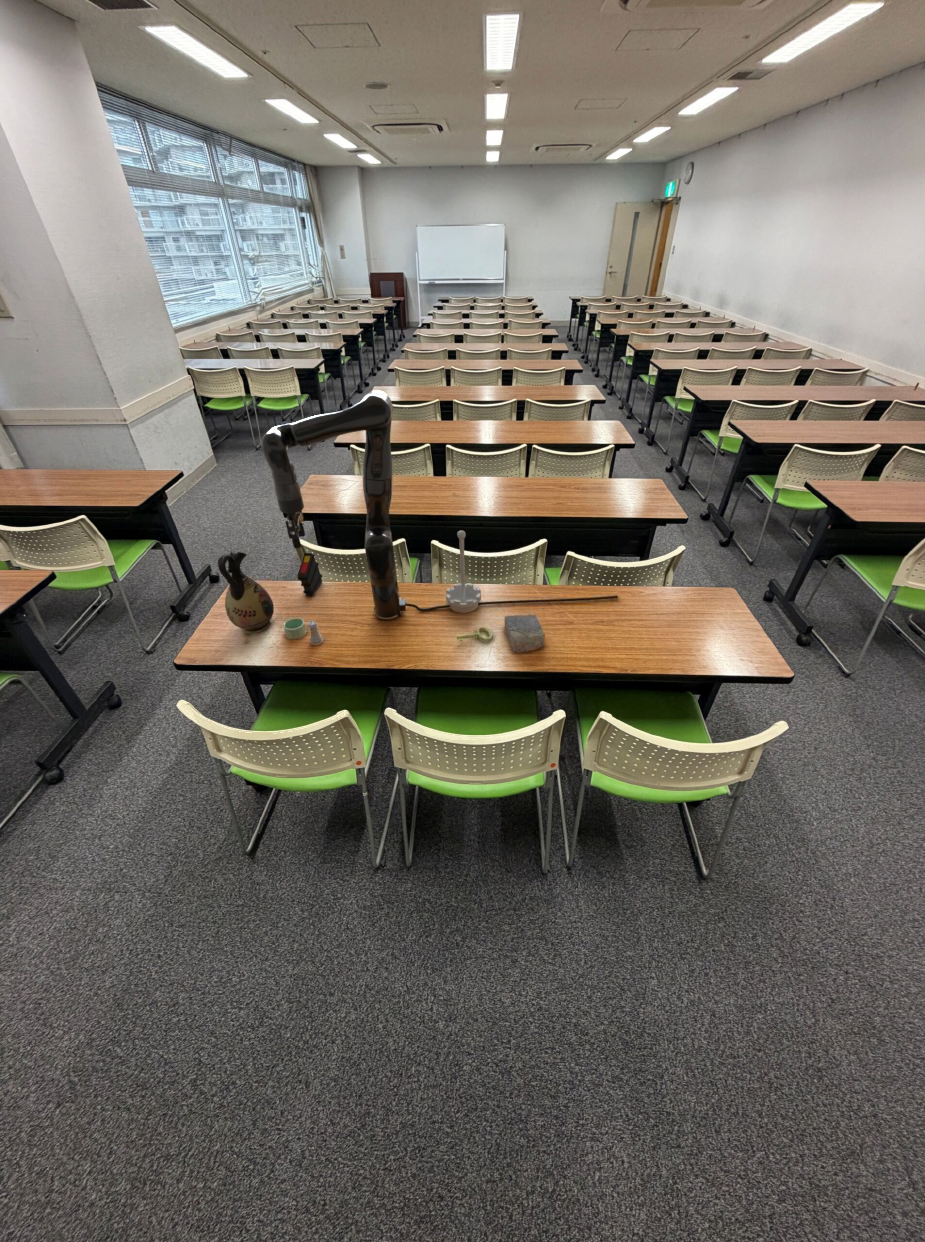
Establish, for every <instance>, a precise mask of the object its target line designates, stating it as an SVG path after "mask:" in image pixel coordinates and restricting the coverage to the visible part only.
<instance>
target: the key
mask: <svg viewBox="0 0 925 1242" xmlns="http://www.w3.org/2000/svg"><path fill="white" fill-rule="evenodd" d="M481 631H484V632H485V633H487V634H488V636H489V637H484V636H483V635H481V633H480V632H481ZM473 638H475V639H477V638H478V639H479V640H480V641H482V642H485V643H487V642H491V641H492V639H493V633H492V631H491V630H490V629H488V628H487V627H484V626H480V627H478V628H477V630H476V632H474V633H470V634H469V633H468V634H462V635H461V634H460V635H456V639H457V640H458V641H459V642H464V639H473Z"/></svg>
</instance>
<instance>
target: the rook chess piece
mask: <svg viewBox="0 0 925 1242" xmlns="http://www.w3.org/2000/svg"><path fill="white" fill-rule="evenodd" d="M318 625H319V623H318V622H317V621H315V620H313V621H312V620H310V621H309V622H308V624H307V628H309V631H310V637H309V644H310V645H312V646H319V645H321V644H322V643H323V641H324V638H323V635H322V634H321V633H320V632H319V627H318Z"/></svg>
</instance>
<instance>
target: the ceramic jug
mask: <svg viewBox="0 0 925 1242" xmlns="http://www.w3.org/2000/svg"><path fill="white" fill-rule="evenodd" d="M246 557H247V554H246V553H245V552H242V551H237V552H236V553H235V552H232V551H230V552H229V554H227V553H226V554H223V555H221V556H219V557H218V559H217V567H218V570H219V572H220V574H221V575H222V577H223V578H224V579H225V580H226V582H227V583H228V584H229V585H228V587H227V591H226V594H225V599H224V608H225V612H226V613H225V614H226V616H227V617H228V619H229V621H230V622H231V624H233V625H234V626H235V627H237V628H239V629H242V630H243V631H244V632H245V633H247V634H248V635H251V634H257V633H258V634H259V633H261V632H263V631H266V630H267V629H268V628H269V627H270V626H271V625H272V622H271V621H272V617H273V615H274V612H275V610H274V608H275V605H274V601H273V599H272V597H271V595H270V593H269V592H268V591H267V590H266V589H265V588H264V587H263V586H262V585H261V584H260V583H258V582H257V581H256V580H254V579H253V578H251V577H249V576H248V575H246V574H245V573H244V571H242V569H241V564H242V562H243V560H244V559H245V558H246ZM227 562H228V564H227ZM226 565H227V567H226Z"/></svg>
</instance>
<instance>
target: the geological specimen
mask: <svg viewBox="0 0 925 1242" xmlns="http://www.w3.org/2000/svg"><path fill="white" fill-rule="evenodd" d="M504 631H505V634H506V637H507V638H508V641H509V643H510V646H511V648H512V651H513V653H516V654H522V653H529V652H534V651H535V650H536V651H537V650H538V649H541V648H544V647H545V645H544V642H545V639H546V637H545V636H546V635H545V632H544V630H543V628H542V625H541V624H540V621H539V619H538V617H537V615H536V614H520V615H519V614H515V615H505V616H504Z"/></svg>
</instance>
